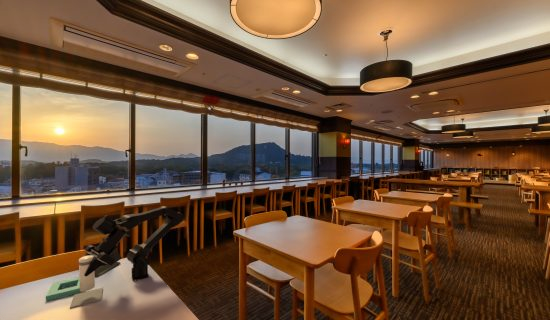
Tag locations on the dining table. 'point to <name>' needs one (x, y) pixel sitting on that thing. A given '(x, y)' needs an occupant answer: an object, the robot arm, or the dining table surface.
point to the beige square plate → (86, 297)
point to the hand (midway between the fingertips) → (82, 274)
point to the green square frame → (57, 293)
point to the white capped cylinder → (85, 281)
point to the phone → (104, 269)
